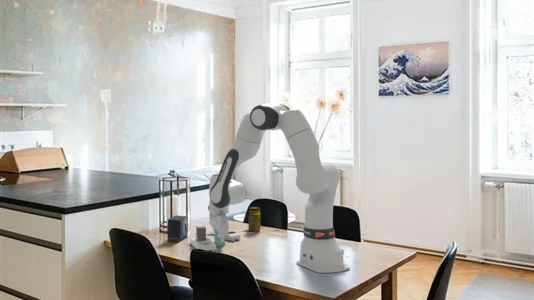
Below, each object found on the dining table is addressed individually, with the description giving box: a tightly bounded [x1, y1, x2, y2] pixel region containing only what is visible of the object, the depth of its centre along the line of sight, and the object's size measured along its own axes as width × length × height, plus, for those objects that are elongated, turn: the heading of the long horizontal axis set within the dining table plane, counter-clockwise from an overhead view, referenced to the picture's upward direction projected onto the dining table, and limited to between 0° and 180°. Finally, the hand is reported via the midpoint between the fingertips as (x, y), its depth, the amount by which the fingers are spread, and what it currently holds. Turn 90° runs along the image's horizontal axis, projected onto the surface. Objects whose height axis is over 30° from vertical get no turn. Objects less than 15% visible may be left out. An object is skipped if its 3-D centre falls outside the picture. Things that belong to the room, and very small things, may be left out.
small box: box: [167, 214, 188, 243], centre depth 249 cm, size 11×6×10 cm, turn 168°
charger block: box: [195, 225, 207, 241], centre depth 238 cm, size 4×4×8 cm
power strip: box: [190, 236, 217, 251], centre depth 235 cm, size 16×8×3 cm, turn 20°
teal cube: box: [213, 235, 226, 247], centre depth 239 cm, size 4×4×4 cm
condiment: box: [242, 206, 264, 234], centre depth 266 cm, size 7×8×12 cm
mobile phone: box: [208, 221, 241, 243], centre depth 255 cm, size 6×6×25 cm
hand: (219, 239), depth 239 cm, fingers open, 8 cm apart
